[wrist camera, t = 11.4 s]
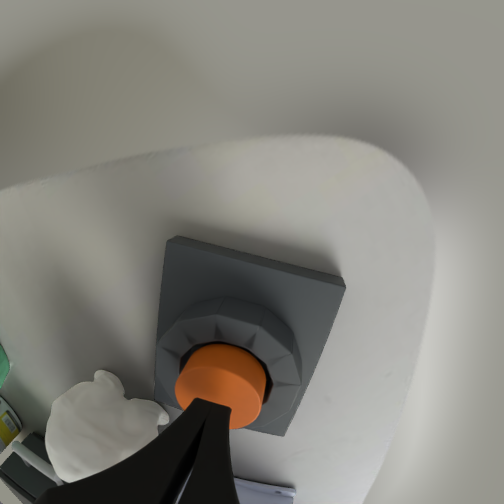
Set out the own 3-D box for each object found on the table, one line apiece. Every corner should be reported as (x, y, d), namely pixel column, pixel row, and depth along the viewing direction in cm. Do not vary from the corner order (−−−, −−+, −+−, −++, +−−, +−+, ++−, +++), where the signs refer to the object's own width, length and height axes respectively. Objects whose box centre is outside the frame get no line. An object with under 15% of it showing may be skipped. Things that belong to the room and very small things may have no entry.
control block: (342, 277, 13) (353, 304, 10) (284, 423, 16) (281, 460, 13) (176, 235, 14) (147, 250, 11) (161, 388, 17) (141, 419, 14)
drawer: (20, 410, 21) (-16, 446, 14) (93, 458, 20) (59, 507, 13) (55, 477, 26) (33, 506, 19) (114, 511, 25) (95, 545, 18)
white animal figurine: (131, 512, 8) (105, 523, 13) (191, 396, 16) (144, 453, 21) (16, 430, 8) (37, 477, 13) (104, 338, 16) (86, 414, 21)
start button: (275, 355, 12) (271, 382, 10) (255, 411, 13) (250, 437, 11) (192, 332, 12) (177, 355, 10) (184, 391, 13) (172, 414, 12)
